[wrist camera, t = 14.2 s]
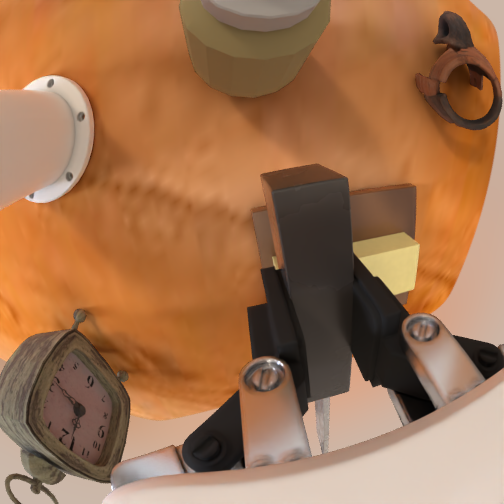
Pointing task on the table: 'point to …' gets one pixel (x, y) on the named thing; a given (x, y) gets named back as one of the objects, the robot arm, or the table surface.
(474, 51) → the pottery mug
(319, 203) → the knife
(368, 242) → the butter
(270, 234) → the cutting board
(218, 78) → the squeeze bottle
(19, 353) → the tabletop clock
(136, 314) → the table surface
